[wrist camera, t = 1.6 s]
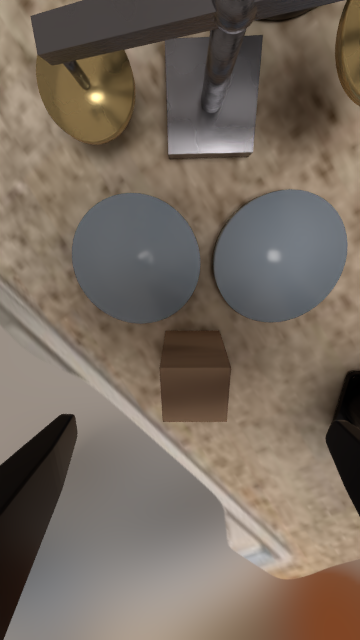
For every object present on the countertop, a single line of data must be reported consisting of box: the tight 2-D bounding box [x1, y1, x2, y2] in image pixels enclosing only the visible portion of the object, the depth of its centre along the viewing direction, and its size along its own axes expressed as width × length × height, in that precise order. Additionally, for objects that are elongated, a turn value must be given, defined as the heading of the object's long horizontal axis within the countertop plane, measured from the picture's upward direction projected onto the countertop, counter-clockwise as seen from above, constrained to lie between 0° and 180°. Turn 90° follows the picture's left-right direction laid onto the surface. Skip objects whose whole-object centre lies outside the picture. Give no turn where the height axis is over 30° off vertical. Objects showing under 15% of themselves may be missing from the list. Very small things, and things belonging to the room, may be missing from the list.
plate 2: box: [213, 190, 347, 322], centre depth 17 cm, size 9×9×1 cm
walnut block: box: [160, 331, 231, 422], centre depth 19 cm, size 4×4×6 cm
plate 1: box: [72, 193, 200, 323], centre depth 17 cm, size 9×9×1 cm
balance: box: [31, 0, 360, 159], centre depth 10 cm, size 17×5×10 cm, turn 91°
